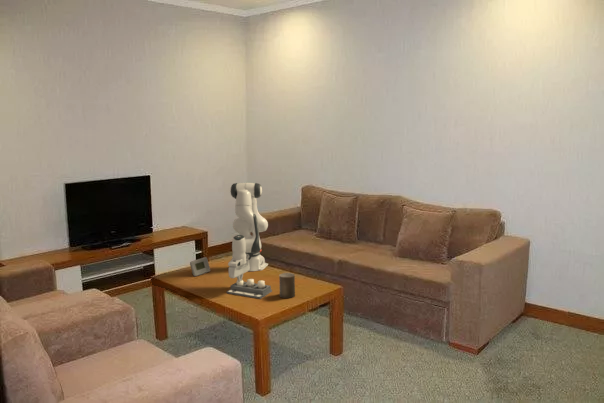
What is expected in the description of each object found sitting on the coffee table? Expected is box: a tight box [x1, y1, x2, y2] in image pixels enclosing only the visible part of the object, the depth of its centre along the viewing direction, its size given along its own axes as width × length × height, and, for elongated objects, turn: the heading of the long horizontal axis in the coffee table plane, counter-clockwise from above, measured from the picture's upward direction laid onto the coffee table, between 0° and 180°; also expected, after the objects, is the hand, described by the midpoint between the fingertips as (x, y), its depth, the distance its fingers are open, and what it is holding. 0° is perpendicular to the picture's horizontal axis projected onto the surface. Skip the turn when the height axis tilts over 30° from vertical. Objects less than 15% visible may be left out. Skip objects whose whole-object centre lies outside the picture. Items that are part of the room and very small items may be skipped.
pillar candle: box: [278, 272, 296, 299], centre depth 307 cm, size 10×10×15 cm
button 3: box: [257, 279, 266, 289], centre depth 311 cm, size 4×4×4 cm
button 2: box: [246, 278, 255, 287], centre depth 315 cm, size 4×4×4 cm
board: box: [226, 281, 273, 300], centre depth 314 cm, size 15×25×4 cm, turn 65°
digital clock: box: [189, 256, 211, 277], centre depth 353 cm, size 16×9×11 cm, turn 133°
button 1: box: [236, 279, 244, 286], centre depth 318 cm, size 4×4×4 cm
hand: (239, 280), depth 318 cm, fingers closed, pressing on button 1
